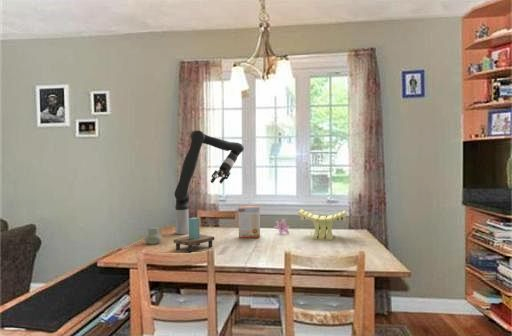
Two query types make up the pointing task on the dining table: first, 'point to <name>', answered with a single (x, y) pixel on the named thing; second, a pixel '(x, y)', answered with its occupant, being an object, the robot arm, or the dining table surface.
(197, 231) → the teal post
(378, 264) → the dining table surface
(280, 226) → the lily
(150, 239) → the air freshener
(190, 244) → the small wooden table
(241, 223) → the cracker box
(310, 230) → the dining table surface
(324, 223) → the slatted curved stool
